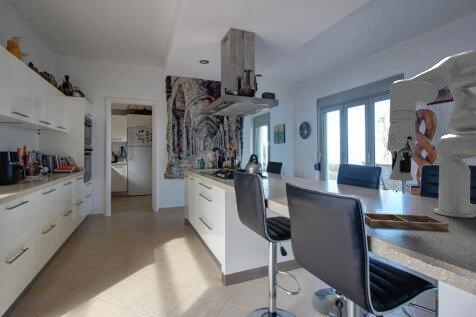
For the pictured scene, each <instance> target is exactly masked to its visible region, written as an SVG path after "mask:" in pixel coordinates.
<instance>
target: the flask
mask: <svg viewBox="0 0 476 317" xmlns="http://www.w3.org/2000/svg"><path fill="white" fill-rule="evenodd" d="M396 152H397V159H396V163H395V165H394V168H393V170H392V169H391V173H390V175H389V177H388V180H392V181H401V182H402V181H404V182H408V181H410V182H411V181H414V178H413V175H412V171H411V172H410V173H403V172H400V160H401V152H400V151H396ZM404 155H405V153H404Z"/></svg>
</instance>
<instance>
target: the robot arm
mask: <svg viewBox="0 0 476 317" xmlns="http://www.w3.org/2000/svg"><path fill="white" fill-rule="evenodd" d="M447 87H448V89H449V92H450V95H451V96H452V99H453V104H452V108H451V113H450V115H449V118H448V123H447V129H448V131H449V132H450V133H451V134H450V133H449V134H446V135H443V136H441V137H440V138H438V140H437V141H436V152H437V157H438V158H437V159H438V166H439V167H438V171H439V172H438V208H437V207H436V208H433V212H434V213H435V214H437V215H441V216H445V217H451V218H453V217H454V218H463V219H464V218H465V219H466V218H467V219H471V218H475V217H476V214H475V212H476V205H474V204H473V203H471V169H470V167H469V165H468V164H467V163H466V161H465V160H464V159H468V160H469V159H471V160H474V159H476V93H475V92H474V91H473V90H471V88H472V89H473V88H476V48H475V49H471V50H467V51H464V52H461V53H455V54H453V55H450V56H447V57H446V58H444V59H442V60H441V61H440V62H439V63H437V64H435V65H434V66H433V67H431V68H430V69H428V70H425V71H424V72H421V73H420V74H417V75H416V76H413V77H411V78H409V79H400V80H396V81H394V82H393V83H391V84H390V87H389V88H390V89H389V122H388V123H389V127H388V134H387V144H386V145H387V148H386V149H387V151H388V152H390V154H391V171H392V170H393V168H394V165H395V163H396V159H397V152H396V151H400V152H401V160H400V172H403V173H410V172H411V173H412V160H413V156H414V153H415V151H416V144H417V142H416V141H417V140H416V139H417V138H416V136H417V134H416V120H417V106H423V105H427V104H430V103H433V102H434V101H435V100H436V99H437V98H438V95H439V91H440V90H442V89H445V88H447ZM404 153H405V155H404Z"/></svg>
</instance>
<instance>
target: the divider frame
mask: <svg viewBox="0 0 476 317" xmlns="http://www.w3.org/2000/svg"><path fill="white" fill-rule="evenodd" d="M363 213H364V216H365V222H364V223H365V224H367V225H368V226H369V227H371V228H382V229H385V228H387V229H388V228H389V229H407V230H408V229H409V230H411V229H412V230H430V231H431V230H432V231H448V230H449V223H446V222H444V221H442V220H439V219H437V218H435V217H432V216H430V215H425V214H424V215H423V214H405V213H404V214H400V213H373V212H372V213H370V212H363Z"/></svg>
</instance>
